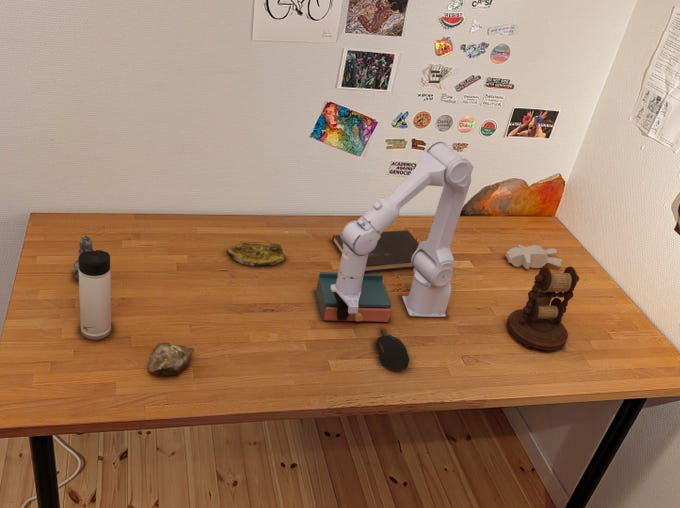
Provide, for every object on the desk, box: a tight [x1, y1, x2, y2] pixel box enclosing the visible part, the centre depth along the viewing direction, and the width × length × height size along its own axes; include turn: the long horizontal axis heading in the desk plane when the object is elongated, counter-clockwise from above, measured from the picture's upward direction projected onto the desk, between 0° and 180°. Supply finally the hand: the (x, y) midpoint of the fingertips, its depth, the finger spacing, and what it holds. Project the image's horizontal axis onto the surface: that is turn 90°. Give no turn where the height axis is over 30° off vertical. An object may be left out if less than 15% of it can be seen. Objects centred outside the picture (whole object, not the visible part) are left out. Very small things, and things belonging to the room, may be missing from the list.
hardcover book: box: [331, 229, 420, 274], centre depth 204 cm, size 16×23×2 cm
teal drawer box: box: [315, 271, 392, 321], centre depth 181 cm, size 16×11×6 cm
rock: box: [147, 342, 195, 376], centre depth 154 cm, size 8×7×10 cm
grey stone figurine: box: [72, 234, 95, 283], centre depth 173 cm, size 6×6×12 cm
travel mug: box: [77, 249, 112, 341], centre depth 156 cm, size 6×7×20 cm
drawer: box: [323, 306, 392, 323], centre depth 180 cm, size 16×12×3 cm
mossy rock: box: [226, 242, 285, 267], centre depth 194 cm, size 9×5×15 cm
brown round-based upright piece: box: [506, 265, 580, 351], centre depth 179 cm, size 15×15×20 cm
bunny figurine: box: [505, 244, 564, 270], centre depth 211 cm, size 10×5×15 cm
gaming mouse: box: [375, 329, 410, 372], centre depth 169 cm, size 6×15×4 cm, turn 9°
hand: (341, 319), depth 175 cm, fingers closed
